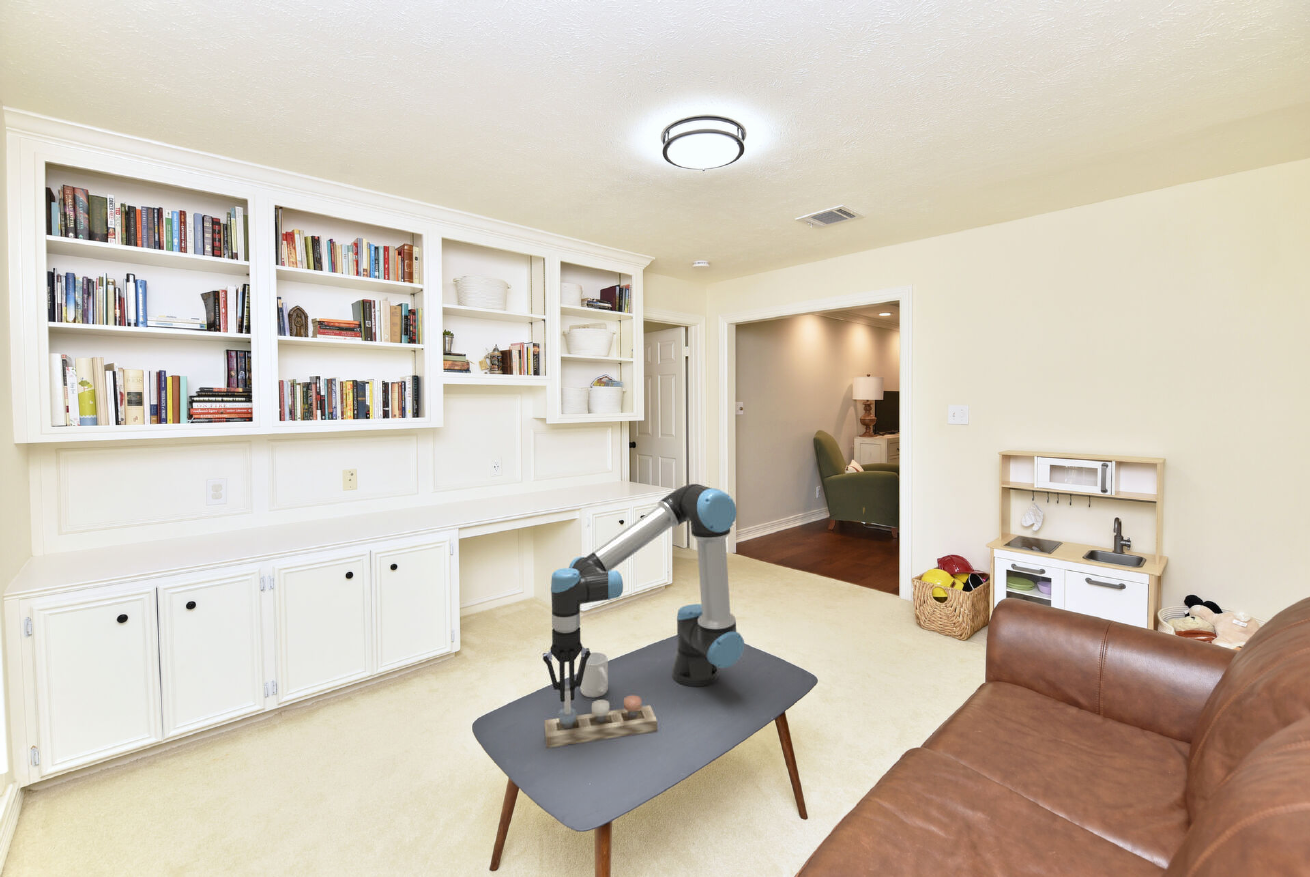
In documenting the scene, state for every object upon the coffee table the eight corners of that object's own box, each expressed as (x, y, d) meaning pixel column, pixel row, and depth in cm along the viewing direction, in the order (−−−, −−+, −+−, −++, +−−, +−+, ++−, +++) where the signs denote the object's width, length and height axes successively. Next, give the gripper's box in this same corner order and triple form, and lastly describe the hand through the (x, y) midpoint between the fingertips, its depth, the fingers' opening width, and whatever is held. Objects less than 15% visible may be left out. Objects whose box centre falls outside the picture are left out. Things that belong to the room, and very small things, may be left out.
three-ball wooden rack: (650, 715, 168) (650, 705, 168) (657, 730, 160) (657, 720, 160) (544, 730, 161) (544, 720, 160) (546, 747, 153) (546, 737, 153)
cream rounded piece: (607, 714, 163) (607, 698, 163) (610, 723, 159) (610, 707, 158) (590, 716, 162) (590, 701, 162) (593, 726, 157) (593, 710, 157)
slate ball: (575, 722, 161) (575, 706, 161) (577, 731, 156) (577, 715, 156) (558, 724, 160) (557, 709, 159) (559, 734, 155) (559, 718, 155)
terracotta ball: (639, 709, 165) (639, 694, 165) (642, 718, 161) (642, 703, 160) (622, 712, 164) (622, 696, 164) (625, 721, 160) (625, 705, 159)
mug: (594, 706, 173) (593, 671, 172) (575, 689, 183) (575, 656, 182) (618, 697, 178) (618, 663, 177) (599, 681, 188) (598, 649, 187)
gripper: (588, 619, 161) (589, 701, 163) (540, 624, 158) (542, 707, 160) (592, 630, 154) (593, 715, 156) (542, 635, 150) (543, 722, 152)
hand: (567, 711), depth 158 cm, fingers closed
